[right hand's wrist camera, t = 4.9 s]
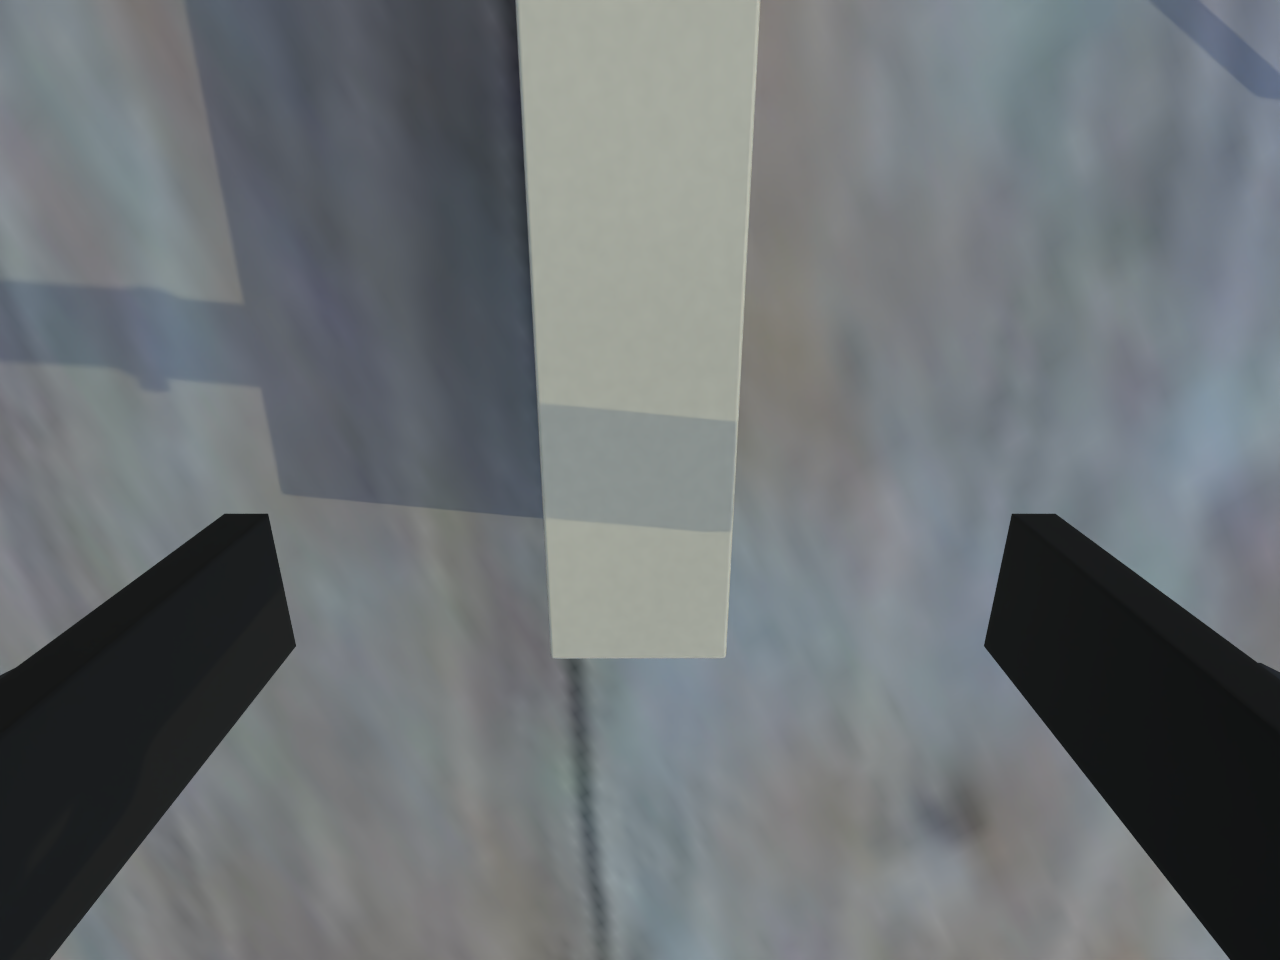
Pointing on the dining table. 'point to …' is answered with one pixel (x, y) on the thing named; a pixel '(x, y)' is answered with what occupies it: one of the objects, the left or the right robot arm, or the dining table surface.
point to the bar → (638, 310)
